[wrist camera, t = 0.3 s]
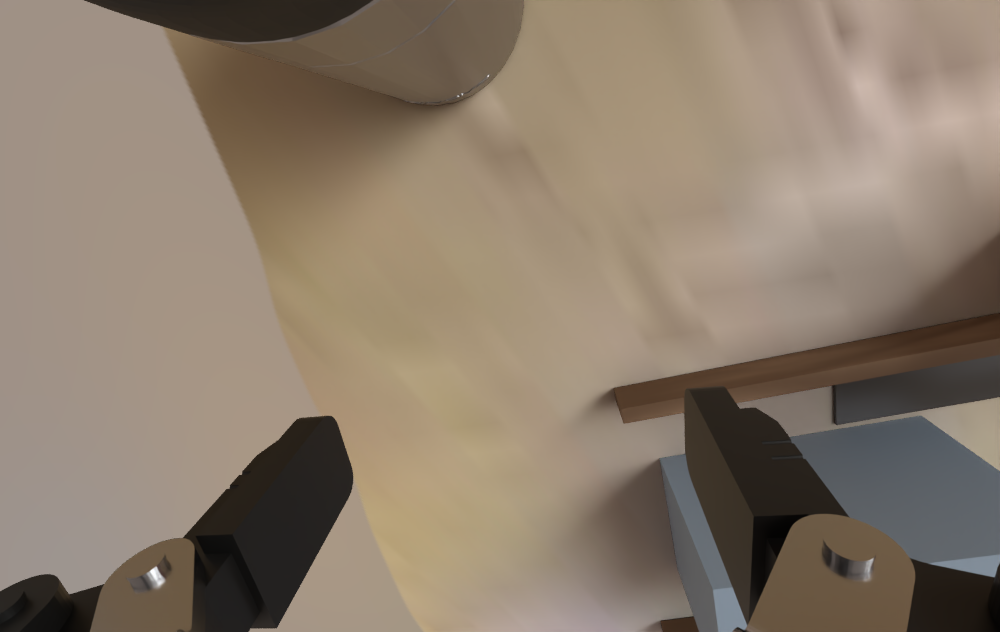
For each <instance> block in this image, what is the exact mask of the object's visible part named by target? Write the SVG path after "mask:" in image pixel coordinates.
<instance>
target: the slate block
mask: <svg viewBox="0 0 1000 632" xmlns="http://www.w3.org/2000/svg"><path fill="white" fill-rule="evenodd" d="M790 439H791V442H792V443H794V444H795V445H796V447H797V448H798V449H799V451H800V452H801V453H802V455H803V459H806V460H807V461H808V463H809V464H810V465H811V467H812V468H813V469H814V471H815V472H816V473H817V475H818V476H819V477H820V479H821V480H822V481H823V483H824V484H825V485H826V487H827V488H828V489H829V491H830V492H831V493H832V495H833V496H834V497H835V499H836V500H837V501H838V503H839V504H840V505H841V506H842V508H843V509H844V510H845V512H846V513H847V514H848V516H849V517H850V518H853V519H856V520H859V521H861V522H864V523H866V524H869V525H871V526H873V527H875V528H876V529H878V530H880V531H882V532H883V533H885V534H886V535H888V536H889V537H890V538H892V539H893V540H894V541H895V542H896V543H897V544H898V545H899V546H900V547H902V548H903V550H904V551H905V552H906V554H907V555H908V556H909V558H912V559H915V560H918V561H921V562H925V563H929V564H933V565H937V566H942V567H947V568H952V569H957V570H961V571H966V572H971V573H976V574H981V575H986V576H990V577H995V574H996V571H997V568H998V566H999V564H1000V471H999V470H997V469H996V468H994V467H993V466H992V465H990V464H989V463H987V462H986V461H984V460H983V459H982V458H980V457H979V456H977V455H976V454H975V453H973V452H972V451H970V450H969V449H968V448H966V447H965V446H963V445H962V444H960V443H959V442H958V441H956V440H955V439H953V438H952V437H951V436H949V435H948V434H946V433H945V432H944V431H942V430H941V429H939V428H938V427H936V426H935V425H934V424H932V423H931V422H929V421H928V420H927V419H925V418H924V417H922V416H916V417H910V418H903V419H897V420H891V421H885V422H879V423H873V424H867V425H860V426H854V427H848V428H842V429H836V430H830V431H824V432H818V433H811V434H805V435H799V436H793V437H790ZM660 464H661V470H662V476H663V482H664V488H665V495H666V501H667V507H668V513H669V519H670V525H671V532H672V538H673V544H674V550H675V556H676V562H677V569H678V572H679V575H680V577H681V580H682V583H683V586H684V589H685V592H686V595H687V598H688V601H689V604H690V607H691V610H692V612H693V615H694V618H695V621H696V624H697V627H698V630H699V632H732V631H733V630H734V629H735V628H737V627H739V628H741V629H743V630H745V629H746V627H747V624H746V621H745V619H744V616H743V613H742V611H741V608H740V606H739V603H738V600H737V598H736V595H735V593H734V590H733V587H732V585H731V582H730V580H729V577H728V574H727V572H726V569H725V567H724V564H723V561H722V559H721V556H720V554H719V551H718V549H717V546H716V543H715V541H714V538H713V536H712V533H711V530H710V528H709V525H708V523H707V520H706V517H705V515H704V512H703V510H702V507H701V504H700V502H699V499H698V497H697V494H696V491H695V489H694V486H693V484H692V481H691V478H690V475H689V471H688V466H687V461H686V454H683V455H677V456H670V457H664V458H660Z"/></svg>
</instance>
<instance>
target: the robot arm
mask: <svg viewBox="0 0 1000 632" xmlns="http://www.w3.org/2000/svg"><path fill="white" fill-rule="evenodd" d="M85 1H88V2H90V3H93V4H96V5H99V6H101V7H104V8H107V9H110V10H112V11H115V12H119V13H121V14H124V15H128V16H130V17H133V18H137V19H140V20H144V21H147V22H150V23H153V24H156V25H160V26H163V27H166V28H170V29H173V30H176V31H180V32H183V33H186V34H189V35H191V36H195V37H198V38H201V39H205V40H208V41H211V42H214V43H218V44H221V45H224V46H228V47H231V48H234V49H237V50H241V51H244V52H247V53H251V54H254V55H257V56H260V57H264V58H267V59H270V60H275V61H278V62H281V63H285V64H288V65H291V66H294V67H298V68H301V69H304V70H307V71H311V72H314V73H317V74H321V75H324V76H327V77H330V78H334V79H337V80H340V81H343V82H347V83H350V84H353V85H357V86H360V87H363V88H366V89H370V90H373V91H376V92H379V93H383V94H386V95H389V96H392V97H396V98H399V99H403V100H404V101H406V102H410V103H416V104H425V105H442V104H448V103H454V102H457V101H460V100H462V99H464V98H467V97H469V96H472V95H474V94H475V93H476V92H478V91H479V90H480V89H482V88H483V87H485V86H486V85H487V84H489V83H490V82H491V81H492V79H493V78H494V77H495V76H496V75H497V74H498V73H499V72H500V70H501V69H502V68H503V66H504V65H505V63H506V61H507V60H508V58H509V56H510V54H511V53H512V51H513V49H514V46H515V43H516V40H517V37H518V34H519V31H520V28H521V21H522V15H523V8H524V0H85ZM684 412H685V453H686V461H687V466H688V471H689V475H690V478H691V481H692V484H693V486H694V489H695V491H696V494H697V497H698V499H699V502H700V504H701V507H702V510H703V512H704V515H705V517H706V520H707V523H708V525H709V528H710V530H711V533H712V536H713V538H714V541H715V543H716V546H717V549H718V551H719V554H720V556H721V559H722V561H723V564H724V567H725V569H726V572H727V574H728V577H729V580H730V582H731V585H732V587H733V590H734V593H735V595H736V598H737V600H738V603H739V606H740V608H741V611H742V613H743V616H744V619H745V621H746V624H747V627H746V629H745V630H743V629H741V628H739V627H737V628H735V629H734V630H733V631H732V632H1000V564H999V566H998V568H997V571H996V574H995V577H990V576H986V575H981V574H976V573H971V572H966V571H961V570H957V569H952V568H947V567H942V566H937V565H933V564H929V563H925V562H921V561H918V560H915V559H912V558H909V556H908V555H907V554H906V552H905V551H904V550H903V548H902V547H900V546H899V545H898V544H897V543H896V542H895V541H894V540H893V539H892V538H890V537H889V536H888V535H886V534H885V533H883V532H882V531H880V530H878V529H876V528H875V527H873V526H871V525H869V524H866V523H864V522H861V521H859V520H856V519H853V518H850V517H849V516H848V514H847V513H846V512H845V510H844V509H843V508H842V506H841V505H840V504H839V503H838V501H837V500H836V499H835V497H834V496H833V495H832V493H831V492H830V491H829V489H828V488H827V487H826V485H825V484H824V483H823V481H822V480H821V479H820V477H819V476H818V475H817V473H816V472H815V471H814V469H813V468H812V467H811V465H810V464H809V463H808V461H807V460H806V459H803V455H802V453H801V452H800V451H799V449H798V448H797V447H796V445H795V444H794V443H792V442H791V439H790V437H789V436H788V435H787V433H786V432H785V431H784V429H783V428H782V427H781V425H780V424H779V423H778V422H777V421H776V420H774V419H773V418H771V417H769V416H768V415H766V414H765V413H763V412H762V411H760V410H758V409H757V408H744V409H739V407H738V406H737V404H736V403H735V401H734V399H733V398H732V396H731V395H730V393H729V392H728V390H727V389H726V387H724V386H712V387H699V388H687V389H686V390H685V394H684ZM352 485H353V471H352V466H351V463H350V460H349V457H348V454H347V451H346V448H345V445H344V442H343V439H342V436H341V433H340V430H339V427H338V424H337V422H336V420H335V419H334V418H333V417H332V416H319V417H307V418H299V419H297V420H296V421H295V422H294V423H293V424H292V425H291V426H290V428H289V429H288V430H287V431H286V432H285V433H284V434H283V435H282V437H281V438H280V439H279V440H278V441H276V442H275V443H274V444H272V445H271V446H269V447H268V448H267V449H265V450H264V451H262V452H261V453H260V454H258V455H257V456H256V457H255V458H254V459H253V460H252V461H251V463H250V464H249V465H248V466H247V467H246V468H245V469H244V470H243V472H242V475H239V476H238V477H237V478H236V479H235V481H234V482H233V483H232V484H231V485H230V489H226V490H225V492H224V493H223V494H222V495H221V496H220V497H219V498H218V499H217V500H216V502H215V503H214V504H213V505H212V506H211V507H210V508H209V509H208V510H207V512H206V513H205V514H204V515H203V516H202V517H201V518H200V519H199V521H198V522H197V523H196V524H195V525H194V526H193V527H192V528H191V530H190V531H189V532H188V533H187V534H186V535H185V536H184V537H183V538H174V539H170V540H166V541H162V542H159V543H157V544H154V545H152V546H150V547H148V548H146V549H144V550H142V551H141V552H139V553H137V554H136V555H134V556H133V557H132V558H130V559H129V560H127V561H126V562H125V563H123V564H122V565H121V566H120V567H119V568H118V569H117V570H116V571H115V572H114V573H113V574H112V575H111V576H110V577H109V578H108V580H107V581H106V582H105V584H103V585H100V586H97V587H93V588H90V589H87V590H83V591H80V592H77V593H73V594H68V592H67V591H66V589H65V588H64V586H63V585H62V583H61V582H60V580H59V579H58V578H57V577H56V576H54V575H50V574H45V575H39V576H34V577H31V578H28V579H25V580H22V581H20V582H18V583H16V584H13V585H12V586H10V587H8V588H6V589H4V590H2V591H0V632H248V631H249V630H250V628H277V627H278V625H279V623H280V621H281V619H282V618H283V616H284V614H285V612H286V610H287V608H288V607H289V605H290V603H291V601H292V599H293V597H294V596H295V594H296V592H297V590H298V589H299V587H300V585H301V583H302V581H303V579H304V578H305V576H306V574H307V572H308V570H309V569H310V567H311V565H312V563H313V561H314V559H315V557H316V556H317V554H318V552H319V550H320V549H321V547H322V545H323V543H324V541H325V540H326V538H327V536H328V534H329V532H330V530H331V529H332V527H333V525H334V523H335V521H336V520H337V518H338V516H339V514H340V512H341V510H342V509H343V507H344V505H345V503H346V501H347V500H348V498H349V496H350V493H351V490H352Z"/></svg>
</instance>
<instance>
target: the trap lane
mask: <svg viewBox="0 0 1000 632" xmlns="http://www.w3.org/2000/svg"><path fill="white" fill-rule="evenodd" d="M832 385H834V414H835V424H836V425H840V424H845V423H851V422H857V421H863V420H869V419H875V418H880V417H886V416H892V415H898V414H904V413H910V412H915V411H921V410H927V409H933V408H939V407H944V406H950V405H956V404H962V403H968V402H974V401H979V400H985V399H991V398H997V397H1000V313H998V314H993V315H988V316H983V317H977V318H972V319H967V320H962V321H957V322H952V323H947V324H941V325H936V326H931V327H926V328H921V329H916V330H911V331H905V332H900V333H895V334H890V335H885V336H880V337H875V338H869V339H864V340H859V341H854V342H849V343H844V344H839V345H833V346H828V347H823V348H818V349H813V350H808V351H803V352H797V353H792V354H787V355H782V356H777V357H772V358H766V359H761V360H756V361H751V362H746V363H741V364H736V365H730V366H725V367H720V368H715V369H710V370H705V371H700V372H694V373H689V374H684V375H679V376H674V377H669V378H664V379H658V380H653V381H648V382H643V383H638V384H633V385H628V386H622V387H617V388H614V392H615V397H616V402H617V405H618V408H619V411H620V414H621V417H622V420H623V423H624V424H625V423H630V422H636V421H641V420H647V419H652V418H657V417H663V416H668V415H674V414H679V413H685V412H684V394H685V390H686V389H687V388H699V387H712V386H724V387H726V389H727V390H728V392H729V393H730V395H731V396H732V398H733V399H734V401H735V403H739V402H745V401H750V400H756V399H761V398H767V397H772V396H778V395H783V394H789V393H794V392H799V391H805V390H810V389H816V388H821V387H827V386H832ZM661 626H662V630H663V632H699V630H698V627H697V624H696V621H695V618H694V617H689V618H681V619H673V620H665V621H661Z"/></svg>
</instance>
